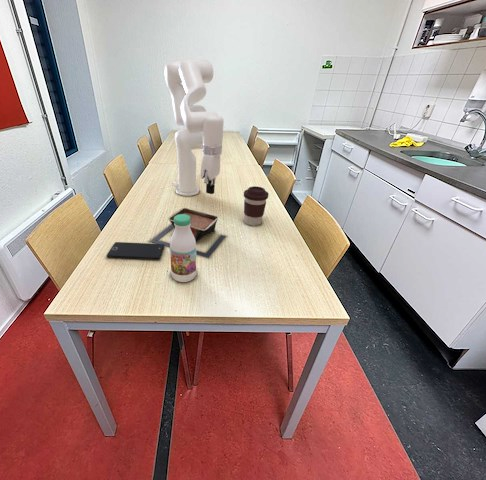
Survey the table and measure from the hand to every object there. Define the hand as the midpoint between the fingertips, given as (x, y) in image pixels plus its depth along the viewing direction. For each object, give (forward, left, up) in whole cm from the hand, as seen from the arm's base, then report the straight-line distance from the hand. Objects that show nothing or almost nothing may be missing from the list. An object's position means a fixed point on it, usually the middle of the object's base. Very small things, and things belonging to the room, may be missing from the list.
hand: (210, 192), depth 116 cm
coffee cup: (+20, +2, -11) cm, 22 cm away
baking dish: (+1, -18, -11) cm, 21 cm away
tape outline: (+2, -22, -11) cm, 24 cm away
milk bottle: (+11, -43, -11) cm, 46 cm away
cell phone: (-10, -39, -11) cm, 42 cm away
